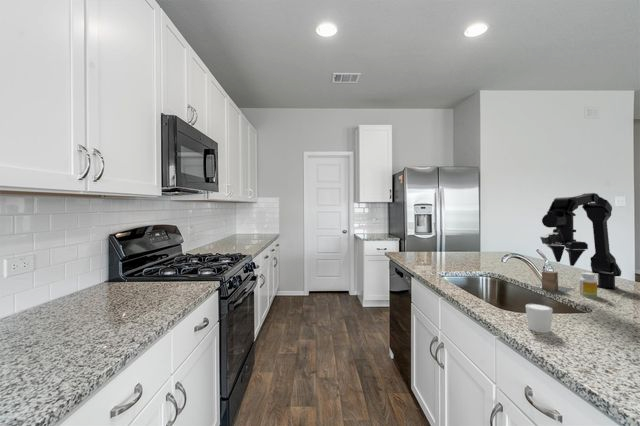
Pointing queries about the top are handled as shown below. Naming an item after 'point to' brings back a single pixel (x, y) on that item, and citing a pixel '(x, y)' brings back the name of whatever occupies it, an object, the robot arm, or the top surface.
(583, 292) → the supplement bottle
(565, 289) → the gray flat panel
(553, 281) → the walnut block
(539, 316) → the white cup
